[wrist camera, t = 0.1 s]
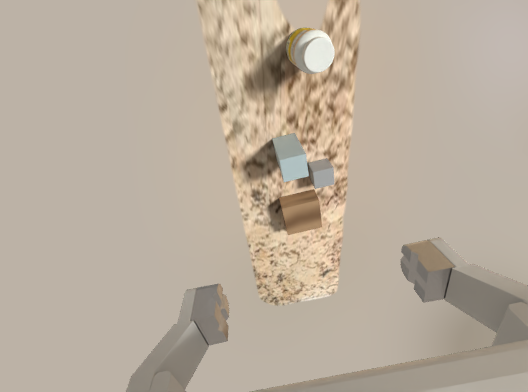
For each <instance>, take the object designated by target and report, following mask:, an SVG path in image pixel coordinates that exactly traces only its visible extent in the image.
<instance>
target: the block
mask: <svg viewBox="0 0 528 392" xmlns="http://www.w3.org/2000/svg"><path fill="white" fill-rule="evenodd" d="M308 166H309V173H310V179H311V181H312V183H313V185H314V188H315V189H316V188H321V187H325V186H329V185H333V184H334V171H333V166H332V165H331V163H330V162H329V160H328V159H327V158H326V159H322V160H318V161H314V162H310V163H308Z"/></svg>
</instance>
